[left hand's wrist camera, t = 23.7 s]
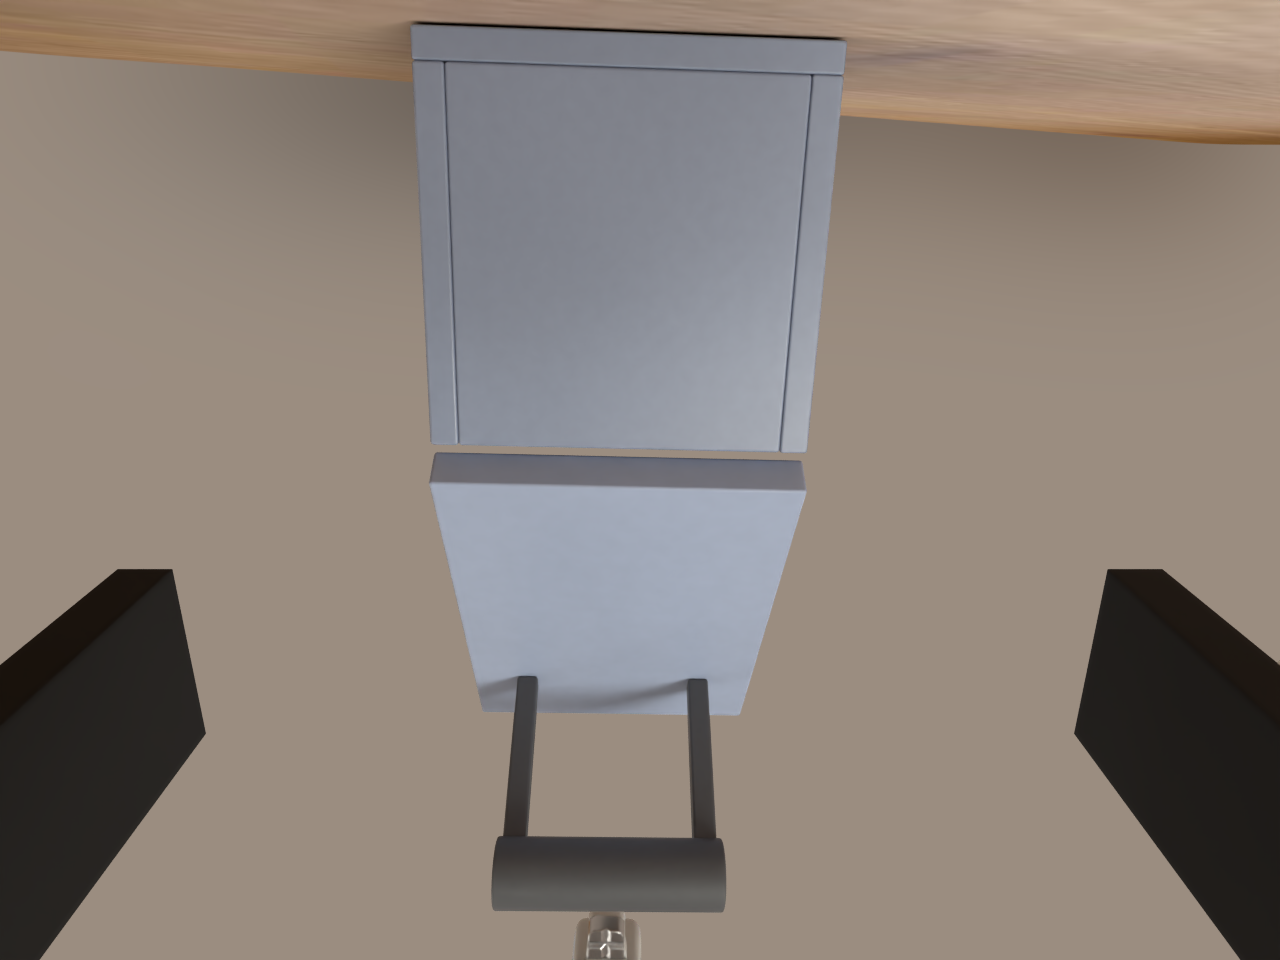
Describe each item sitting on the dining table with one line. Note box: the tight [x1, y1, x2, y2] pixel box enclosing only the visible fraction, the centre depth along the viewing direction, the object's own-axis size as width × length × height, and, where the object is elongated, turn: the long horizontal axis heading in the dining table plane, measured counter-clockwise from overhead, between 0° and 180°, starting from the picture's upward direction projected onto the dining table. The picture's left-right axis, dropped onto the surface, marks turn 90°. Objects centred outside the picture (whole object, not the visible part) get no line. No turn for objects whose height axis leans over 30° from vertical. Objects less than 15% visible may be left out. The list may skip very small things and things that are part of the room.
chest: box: [410, 24, 847, 453], centre depth 27 cm, size 13×10×10 cm
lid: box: [429, 452, 807, 912], centre depth 26 cm, size 14×10×8 cm
